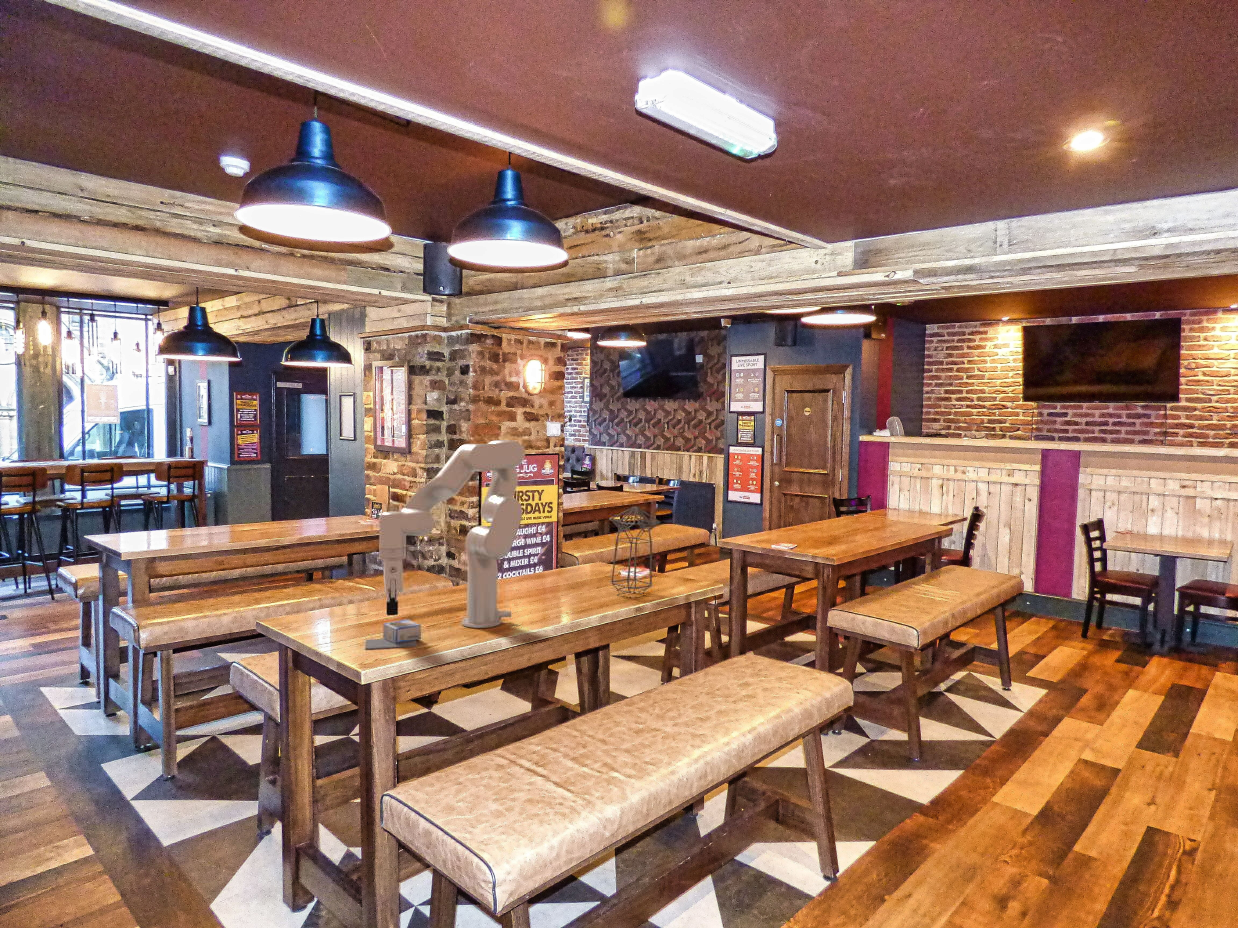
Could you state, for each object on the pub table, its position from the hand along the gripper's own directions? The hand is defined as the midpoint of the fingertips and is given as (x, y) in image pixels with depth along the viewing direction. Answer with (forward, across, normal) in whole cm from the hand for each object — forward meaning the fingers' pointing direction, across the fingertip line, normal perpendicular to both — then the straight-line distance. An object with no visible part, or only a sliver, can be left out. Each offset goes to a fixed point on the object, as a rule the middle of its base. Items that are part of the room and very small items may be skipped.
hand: (392, 614), depth 215 cm
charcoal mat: (+7, -7, 0) cm, 10 cm away
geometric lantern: (+8, +38, -91) cm, 99 cm away
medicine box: (+4, 0, -1) cm, 4 cm away
